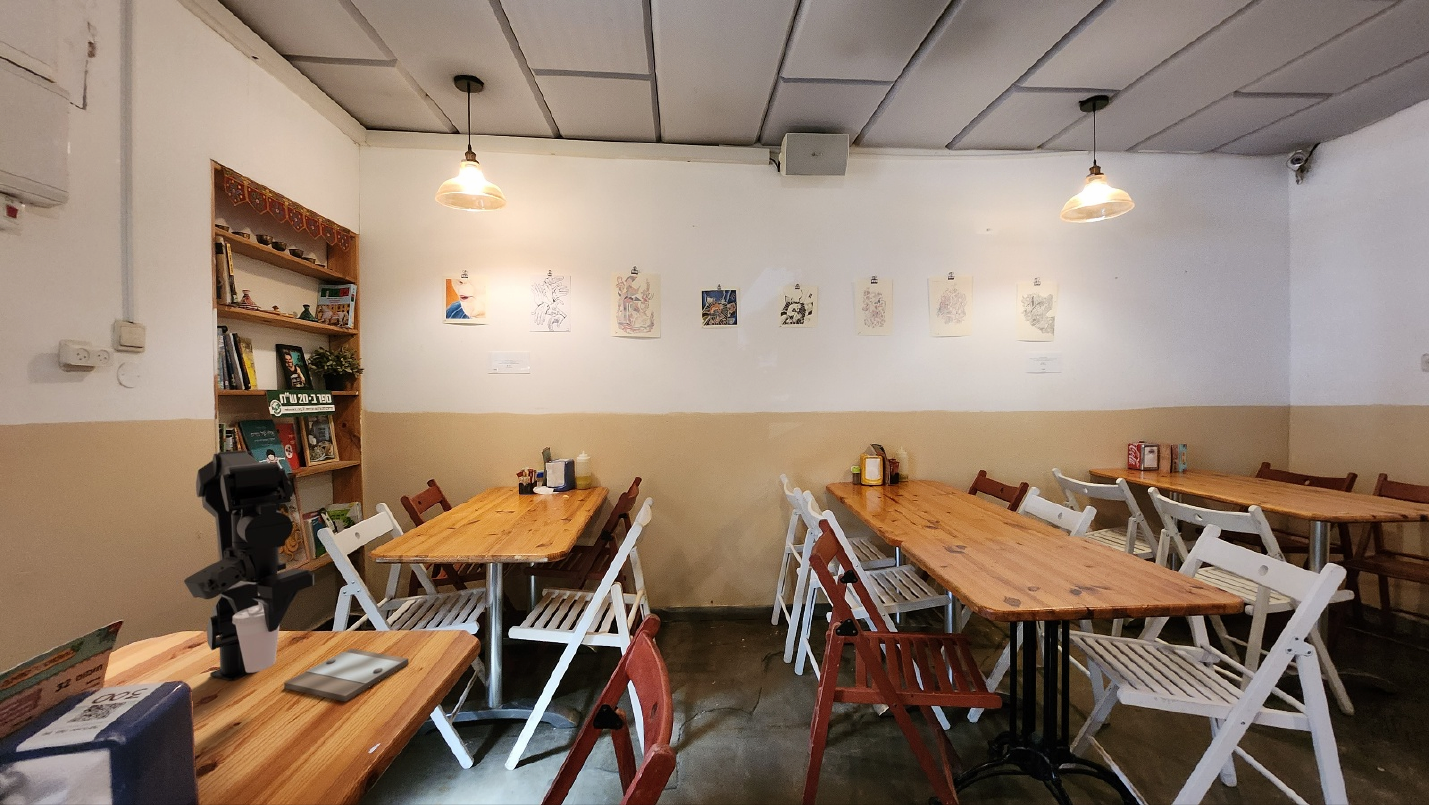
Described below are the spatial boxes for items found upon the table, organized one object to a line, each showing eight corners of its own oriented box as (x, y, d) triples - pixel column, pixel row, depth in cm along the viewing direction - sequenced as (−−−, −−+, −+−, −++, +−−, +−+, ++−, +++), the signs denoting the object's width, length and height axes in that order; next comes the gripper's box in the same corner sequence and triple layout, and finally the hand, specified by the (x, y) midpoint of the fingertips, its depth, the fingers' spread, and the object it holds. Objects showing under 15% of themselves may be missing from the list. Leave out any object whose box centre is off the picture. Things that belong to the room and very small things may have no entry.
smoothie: (253, 679, 79) (250, 594, 78) (223, 675, 80) (220, 591, 80) (295, 658, 85) (292, 579, 85) (266, 654, 86) (263, 577, 86)
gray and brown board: (284, 688, 87) (284, 680, 87) (351, 653, 98) (351, 647, 98) (345, 701, 82) (345, 694, 82) (408, 663, 94) (408, 657, 94)
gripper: (155, 548, 77) (159, 645, 77) (233, 558, 72) (237, 661, 72) (241, 529, 88) (244, 614, 88) (314, 536, 82) (318, 626, 83)
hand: (259, 628), depth 82 cm, fingers closed on smoothie, 6 cm apart
